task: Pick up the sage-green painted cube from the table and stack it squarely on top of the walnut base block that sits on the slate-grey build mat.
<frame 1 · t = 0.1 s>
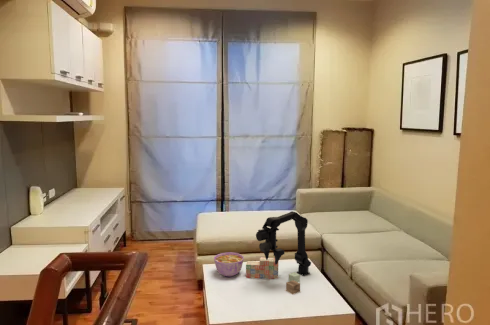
hand: (271, 261, 240), 15 cm above the table, fingers open, 9 cm apart
sage cube: (294, 281, 245), on the table
walnut base: (293, 290, 231), resting on build mat
build mat: (291, 292, 230), on the table
bowl of food: (229, 274, 256), on the table
stack of blocks: (262, 277, 252), on the table
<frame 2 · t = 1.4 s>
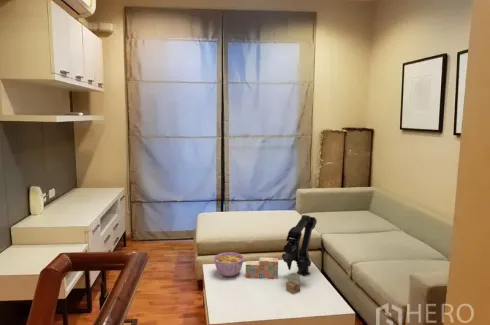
hand: (294, 272, 244), 6 cm above the table, fingers open, 9 cm apart
nothing on the table moved.
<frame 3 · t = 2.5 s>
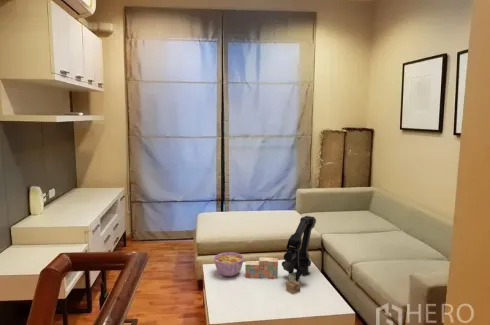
hand: (294, 280, 244), 1 cm above the table, fingers closed on sage cube, 5 cm apart
sage cube: (294, 281, 245), on the table, touching gripper
everything else where it was.
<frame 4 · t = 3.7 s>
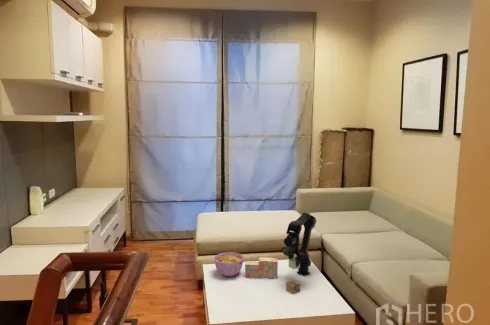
hand: (294, 265, 242), 11 cm above the table, fingers closed on sage cube, 5 cm apart
sage cube: (294, 267, 243), point 10 cm above the table, touching gripper
everything else where it was.
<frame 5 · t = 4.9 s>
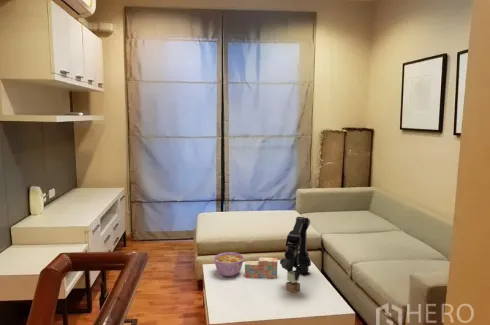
hand: (293, 278, 230), 8 cm above the table, fingers closed on sage cube, 5 cm apart
sage cube: (293, 280, 230), point 7 cm above the table, touching gripper
everything else where it was.
when the fingers open (8 cm above the table, at t = 5.3 s): sage cube drops 1 cm, resting on walnut base.
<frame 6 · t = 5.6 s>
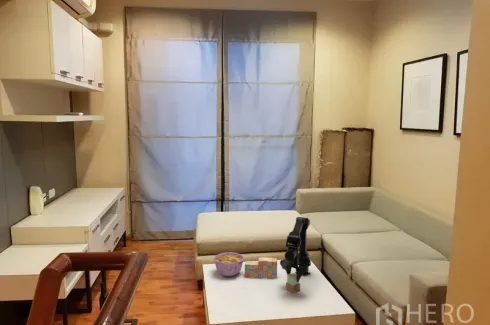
hand: (293, 279, 230), 8 cm above the table, fingers open, 8 cm apart
sage cube: (293, 283, 230), point 5 cm above the table, touching walnut base
walnut base: (293, 290, 231), resting on build mat, touching sage cube
everything else where it was.
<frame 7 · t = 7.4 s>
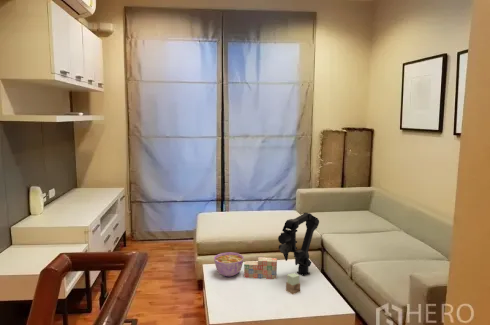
hand: (291, 262, 245), 12 cm above the table, fingers open, 9 cm apart
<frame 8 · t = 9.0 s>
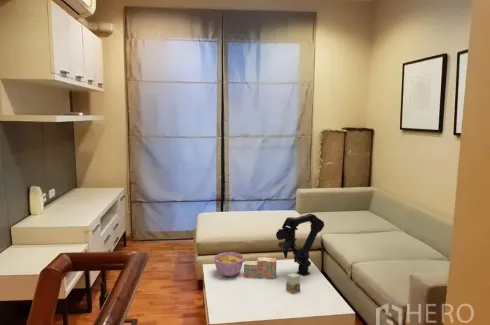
hand: (290, 260, 249), 12 cm above the table, fingers open, 9 cm apart
at the end: sage cube 0.0 cm off-centre on the walnut base, point 5.0 cm above the walnut base's base; sage cube tilted 0°; the gripper is holding nothing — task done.
